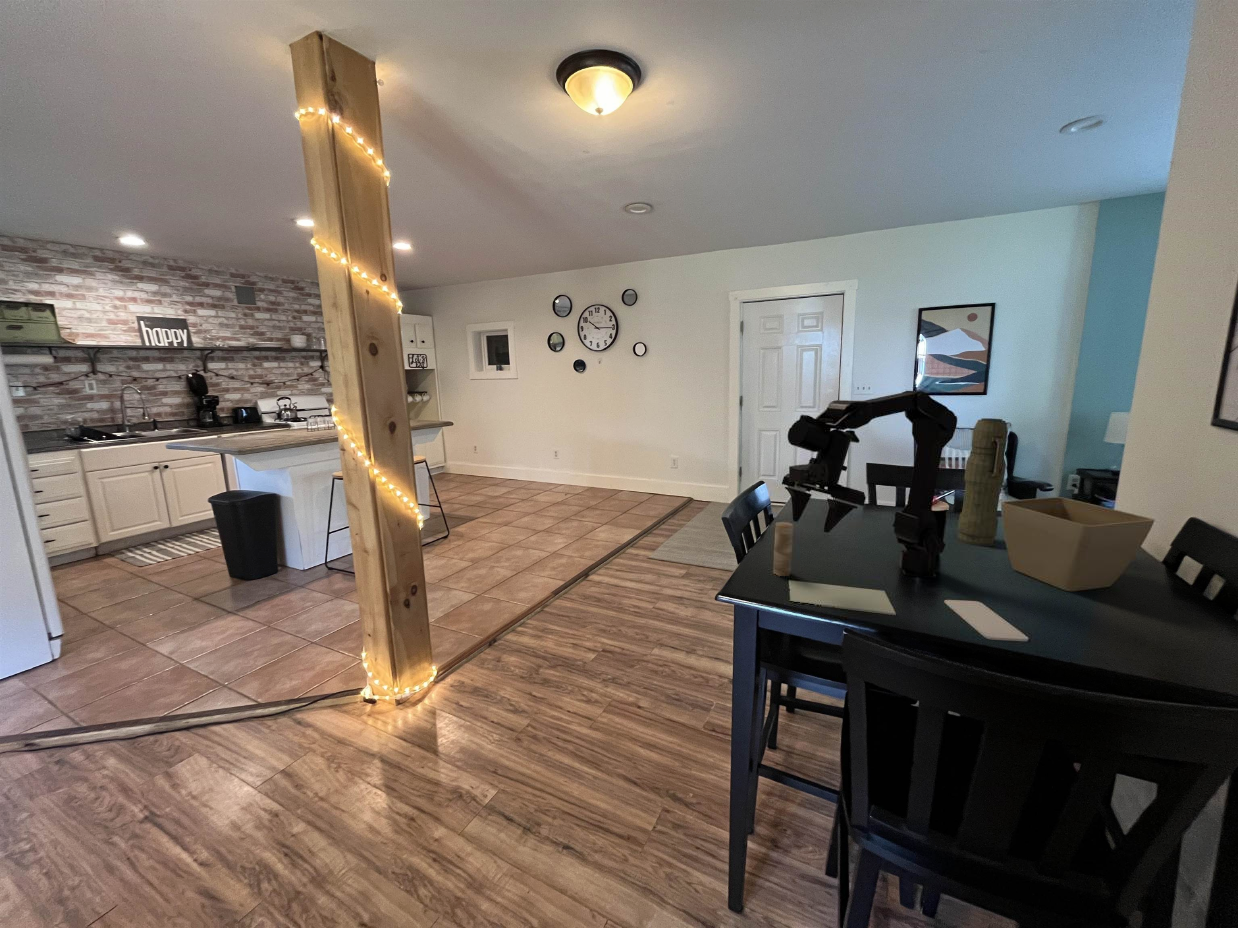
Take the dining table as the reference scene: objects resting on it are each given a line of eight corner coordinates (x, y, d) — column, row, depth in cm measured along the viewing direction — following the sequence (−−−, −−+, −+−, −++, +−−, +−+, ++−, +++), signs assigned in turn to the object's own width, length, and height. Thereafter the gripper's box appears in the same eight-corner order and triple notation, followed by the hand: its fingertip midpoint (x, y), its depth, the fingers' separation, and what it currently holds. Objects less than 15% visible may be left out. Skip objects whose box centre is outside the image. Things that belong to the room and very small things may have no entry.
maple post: (790, 571, 118) (792, 522, 115) (790, 577, 114) (793, 527, 112) (773, 569, 119) (775, 521, 116) (773, 575, 115) (775, 526, 113)
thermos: (976, 533, 143) (992, 417, 136) (1006, 548, 131) (1025, 421, 124) (946, 533, 143) (960, 417, 136) (973, 548, 131) (991, 421, 125)
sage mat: (884, 592, 106) (884, 590, 106) (895, 615, 96) (895, 613, 96) (788, 581, 112) (788, 580, 112) (790, 602, 102) (790, 600, 102)
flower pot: (1142, 592, 105) (1158, 518, 102) (1075, 601, 101) (1089, 525, 98) (1048, 559, 123) (1059, 496, 120) (989, 566, 119) (998, 501, 116)
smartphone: (979, 601, 101) (1031, 639, 86) (979, 604, 101) (1030, 643, 86) (942, 599, 102) (987, 637, 87) (942, 602, 102) (987, 640, 87)
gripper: (773, 443, 108) (754, 509, 109) (837, 453, 91) (813, 531, 92) (809, 455, 113) (791, 518, 113) (877, 467, 95) (854, 541, 96)
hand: (809, 526), depth 103 cm, fingers open, 9 cm apart
